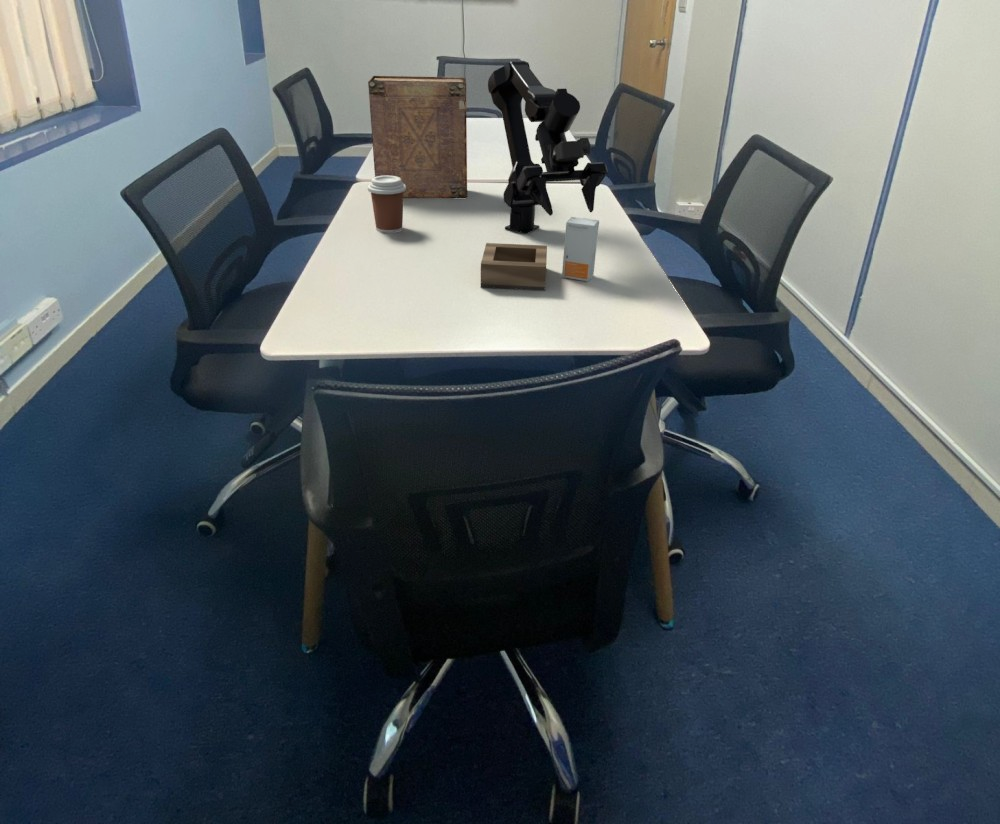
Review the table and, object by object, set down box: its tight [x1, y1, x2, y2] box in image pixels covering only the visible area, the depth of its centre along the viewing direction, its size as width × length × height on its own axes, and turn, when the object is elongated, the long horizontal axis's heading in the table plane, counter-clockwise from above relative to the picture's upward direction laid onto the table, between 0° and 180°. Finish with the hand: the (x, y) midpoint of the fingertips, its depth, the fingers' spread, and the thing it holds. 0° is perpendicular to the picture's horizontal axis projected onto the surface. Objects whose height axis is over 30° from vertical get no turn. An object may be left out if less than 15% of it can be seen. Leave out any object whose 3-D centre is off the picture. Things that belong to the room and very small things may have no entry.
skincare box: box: [561, 216, 600, 283], centre depth 149 cm, size 6×4×12 cm
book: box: [367, 75, 468, 199], centre depth 197 cm, size 25×9×30 cm, turn 93°
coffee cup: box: [367, 175, 406, 234], centre depth 174 cm, size 9×9×12 cm
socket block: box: [480, 242, 548, 292], centre depth 149 cm, size 13×13×5 cm
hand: (571, 212), depth 150 cm, fingers open, 9 cm apart
